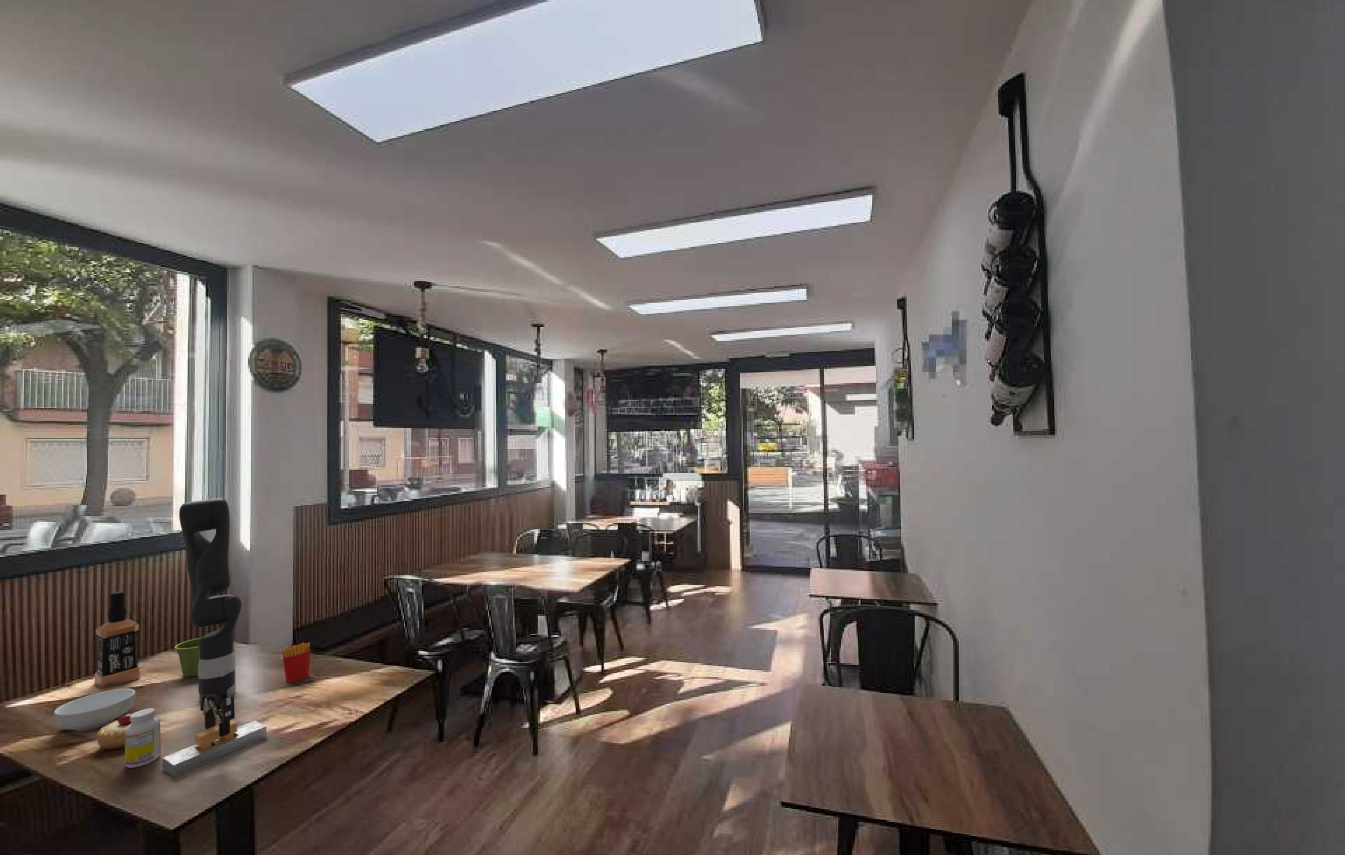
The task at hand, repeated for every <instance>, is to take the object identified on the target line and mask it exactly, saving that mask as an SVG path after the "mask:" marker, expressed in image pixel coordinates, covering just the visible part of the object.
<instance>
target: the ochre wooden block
mask: <svg viewBox="0 0 1345 855" xmlns="http://www.w3.org/2000/svg"><path fill="white" fill-rule="evenodd" d="M237 727H238V721H237V722H236V721H235V720H234V719H231V720H230V733H229V734H228V735H225V736H223V737H220V736H219V724H218V725H215V726H214V727H211V728H209V729H205V730H203V731H201V732H199V733H195V743H194V745H195V744H197V745H199V751H203V750H205V749H207V748H210V747H211V742H213V741H215V740H217V739H220V738H222V741H227V740H229V739H231V738H234V732H237Z"/></svg>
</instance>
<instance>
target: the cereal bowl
mask: <svg viewBox="0 0 1345 855" xmlns="http://www.w3.org/2000/svg"><path fill="white" fill-rule="evenodd" d="M135 700H136V690H135V689H133V688H116V689H110V690H106V691H101V692H97V693H93V694H89V695H86V696H83V697H79V698H77V699H74V700H71V701H69V702H66V703H64V704H62V705H60V706H58V707H57V708H56V709H55V710H54V713H53V720H54V723H55V724H56V726H57V727H58V728H60V729H63V730H72V731H73V730H74V731H79V732H85V731H90V730H94V729H95V730H96V729H98V728H102V727H105V726H106V725H107V724H111V723H112V722H113V721H115V720H116V719H119V718H120V717H121V716H123V715H125V714H126V713H127V712H128V711H129V710H130V709H131V708H132V706H133V705H134V704H135ZM125 708H127V709H128V711H127V710H126V709H125Z"/></svg>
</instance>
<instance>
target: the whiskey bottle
mask: <svg viewBox="0 0 1345 855" xmlns="http://www.w3.org/2000/svg"><path fill="white" fill-rule="evenodd" d="M125 594H126V592H125V591H123V590H120V591H119V590H118V591H113V592H111V593H110V595H109V603H110V605H109V606H110V607H109V608H108V611H107V612H108V613H107V617H108V621H107V622H105V623H103V624H102V625H100V626H98V627H97V628H95V635H97V652H96V654H97V655H96V672H95V673H94V684H95V685H96V687H98V688H99V689H100V690H102V689H103V690H104V689H108V688H111V687H115V686H119V685H122V684H125V683H129V682H133V681H135V680H139V679H141V672H140V667H139V665H138V664H139V663H138V662H139V661H138V656H139V655H138V632H137V631H138V630H139V629H140V626H139V625H140V624H139V623H137V622H135V621H134V620H131V619H129V618H127V613H128V611H127V606H126V604H125V601H126V598H125V597H126V595H125Z"/></svg>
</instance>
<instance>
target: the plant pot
mask: <svg viewBox="0 0 1345 855" xmlns="http://www.w3.org/2000/svg"><path fill="white" fill-rule="evenodd" d="M200 639H201V637H199V638H194V639H193V638H192V639H189V640H185V641H183V642H180V643H178V644H176V645H175V646H174V649H175V650H176V652H177V655H178V658H179V663H180V666H181V667H180V669H181V673H182V677H184V678H189V677H197V676H198V666H199V640H200Z"/></svg>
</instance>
